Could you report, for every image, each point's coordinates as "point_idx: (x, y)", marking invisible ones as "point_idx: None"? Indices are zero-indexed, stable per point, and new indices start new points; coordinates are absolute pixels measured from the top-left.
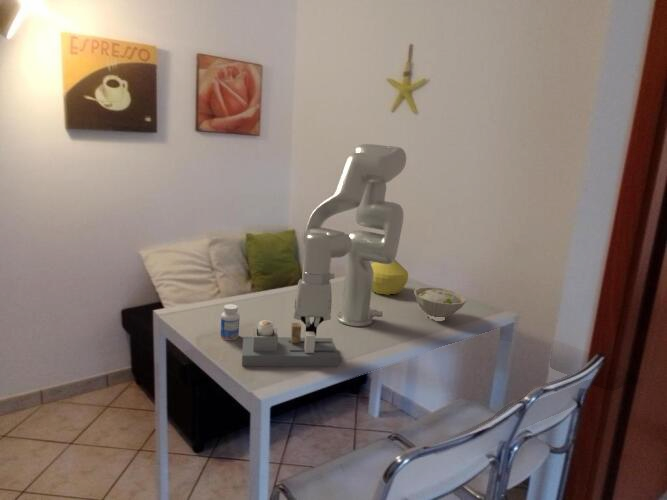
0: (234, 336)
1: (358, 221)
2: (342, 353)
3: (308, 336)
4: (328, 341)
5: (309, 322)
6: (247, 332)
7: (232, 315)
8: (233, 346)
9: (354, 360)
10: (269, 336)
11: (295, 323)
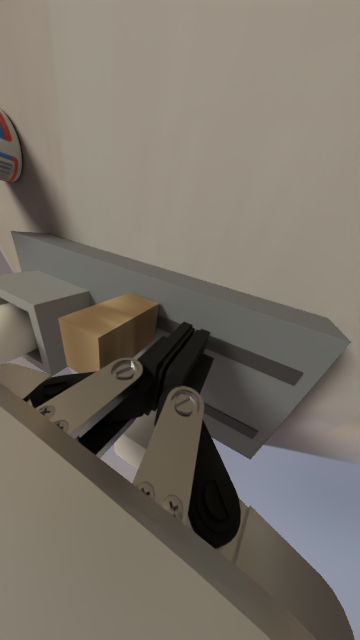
0: (6, 175)
1: None
2: (339, 380)
3: (122, 455)
4: (289, 369)
5: (116, 434)
6: (32, 87)
7: None
8: (31, 229)
9: (343, 435)
10: (32, 359)
11: (75, 333)
